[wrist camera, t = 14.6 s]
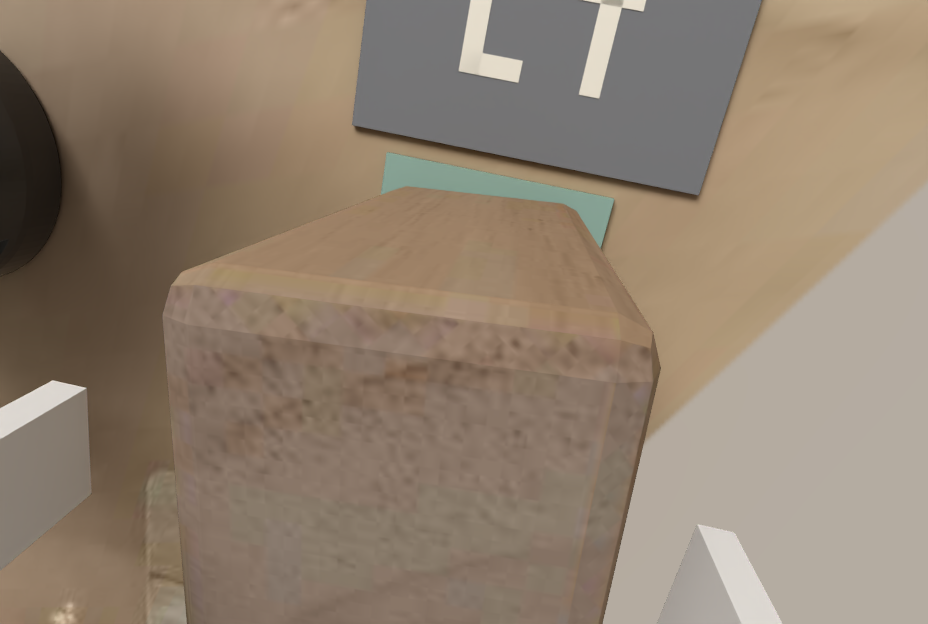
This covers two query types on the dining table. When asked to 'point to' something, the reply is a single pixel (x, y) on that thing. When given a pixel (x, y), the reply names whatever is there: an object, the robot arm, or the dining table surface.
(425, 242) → the wooden block
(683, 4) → the mat
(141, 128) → the dining table surface
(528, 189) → the pad
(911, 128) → the dining table surface
